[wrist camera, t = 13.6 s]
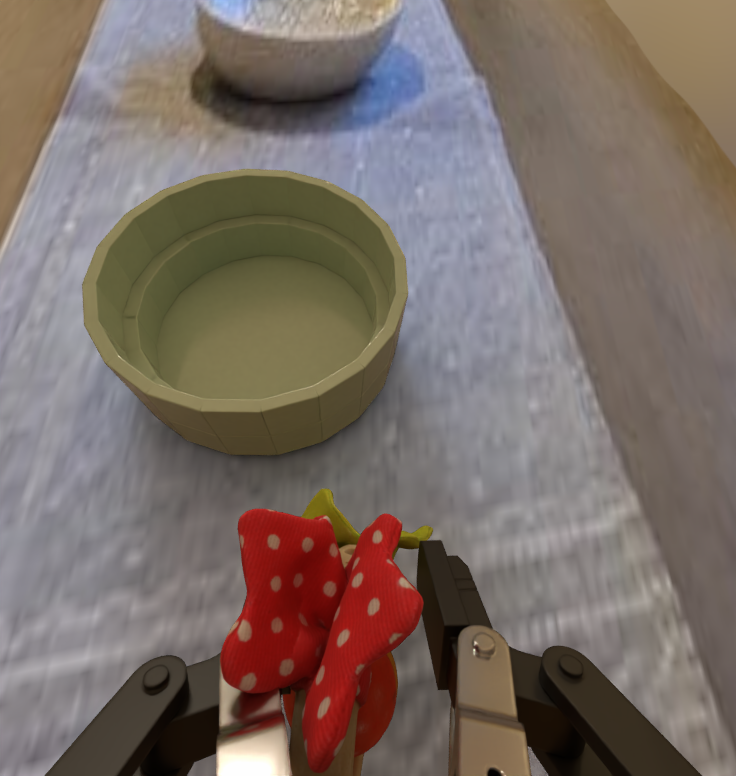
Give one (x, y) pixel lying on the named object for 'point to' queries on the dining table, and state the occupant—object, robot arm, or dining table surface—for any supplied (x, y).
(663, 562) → the dining table surface
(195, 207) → the bowl
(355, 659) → the bird rattle
